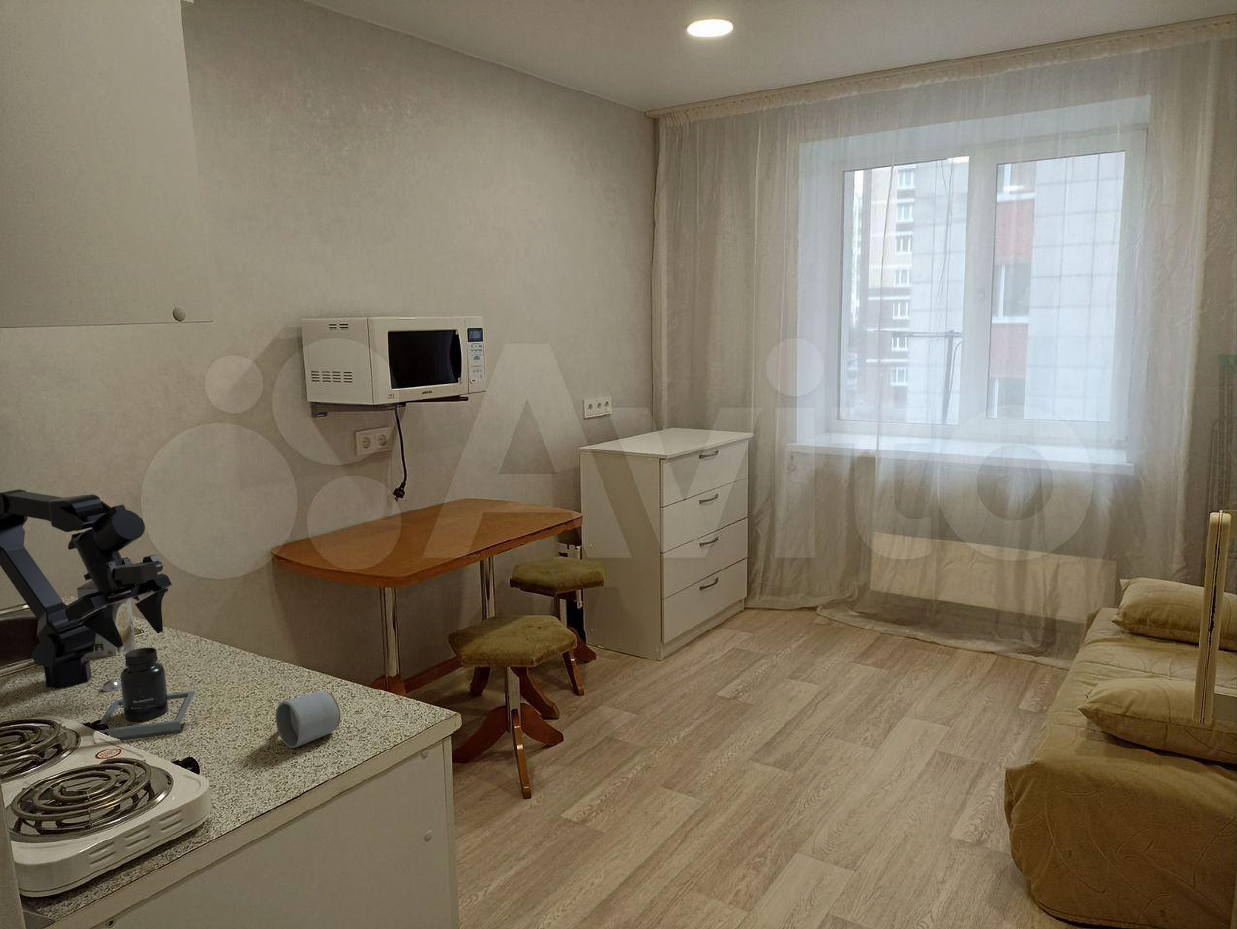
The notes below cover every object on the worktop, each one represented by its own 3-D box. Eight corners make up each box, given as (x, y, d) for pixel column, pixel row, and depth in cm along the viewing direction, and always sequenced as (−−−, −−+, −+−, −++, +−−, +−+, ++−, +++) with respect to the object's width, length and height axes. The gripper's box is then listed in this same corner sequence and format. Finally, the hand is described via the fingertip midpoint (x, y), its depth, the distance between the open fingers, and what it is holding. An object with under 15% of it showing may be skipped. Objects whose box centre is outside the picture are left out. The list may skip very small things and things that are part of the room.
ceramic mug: (345, 735, 147) (342, 691, 145) (301, 754, 140) (296, 708, 139) (310, 719, 153) (306, 677, 152) (266, 736, 147) (261, 693, 146)
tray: (94, 744, 145) (93, 732, 145) (116, 710, 158) (115, 700, 157) (180, 732, 149) (179, 721, 148) (195, 701, 161) (194, 690, 161)
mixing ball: (101, 700, 162) (99, 684, 162) (105, 693, 165) (104, 678, 165) (119, 698, 163) (117, 682, 163) (123, 691, 166) (121, 676, 165)
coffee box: (117, 662, 180) (109, 587, 178) (84, 664, 180) (75, 588, 177) (137, 646, 189) (128, 574, 187) (105, 648, 189) (96, 575, 186)
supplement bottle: (139, 730, 149) (131, 662, 147) (116, 721, 152) (108, 655, 150) (177, 714, 154) (170, 649, 152) (155, 705, 158) (147, 642, 156)
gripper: (91, 552, 147) (132, 636, 146) (174, 533, 165) (210, 608, 164) (45, 579, 150) (85, 662, 149) (131, 558, 168) (167, 631, 167)
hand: (141, 639), depth 157 cm, fingers open, 9 cm apart
